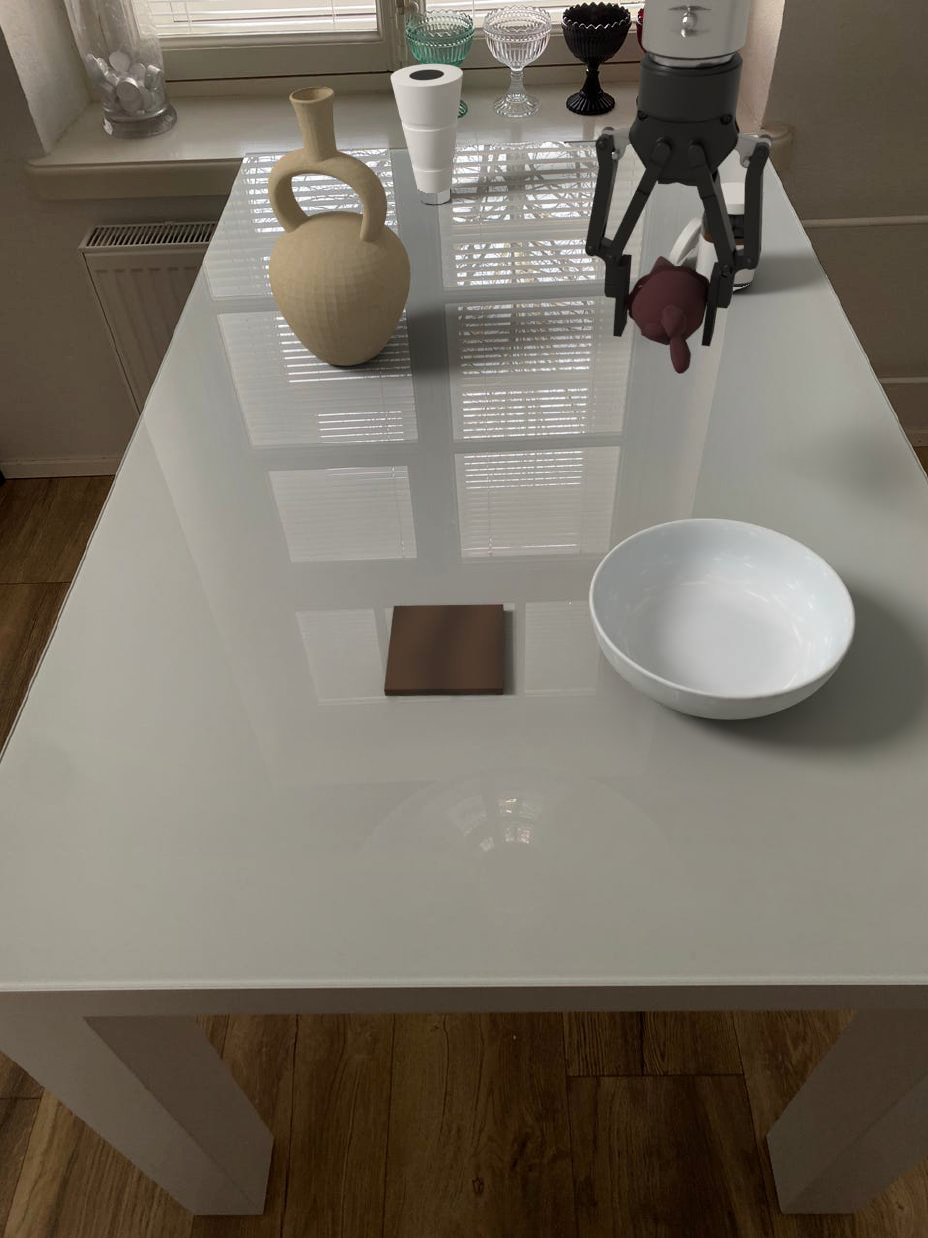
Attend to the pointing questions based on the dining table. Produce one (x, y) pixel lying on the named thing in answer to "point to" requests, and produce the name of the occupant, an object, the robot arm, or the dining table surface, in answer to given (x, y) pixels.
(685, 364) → the beetroot
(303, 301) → the vase
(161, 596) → the dining table surface
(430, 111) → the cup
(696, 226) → the spread jar
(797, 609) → the serving bowl
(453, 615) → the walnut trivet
